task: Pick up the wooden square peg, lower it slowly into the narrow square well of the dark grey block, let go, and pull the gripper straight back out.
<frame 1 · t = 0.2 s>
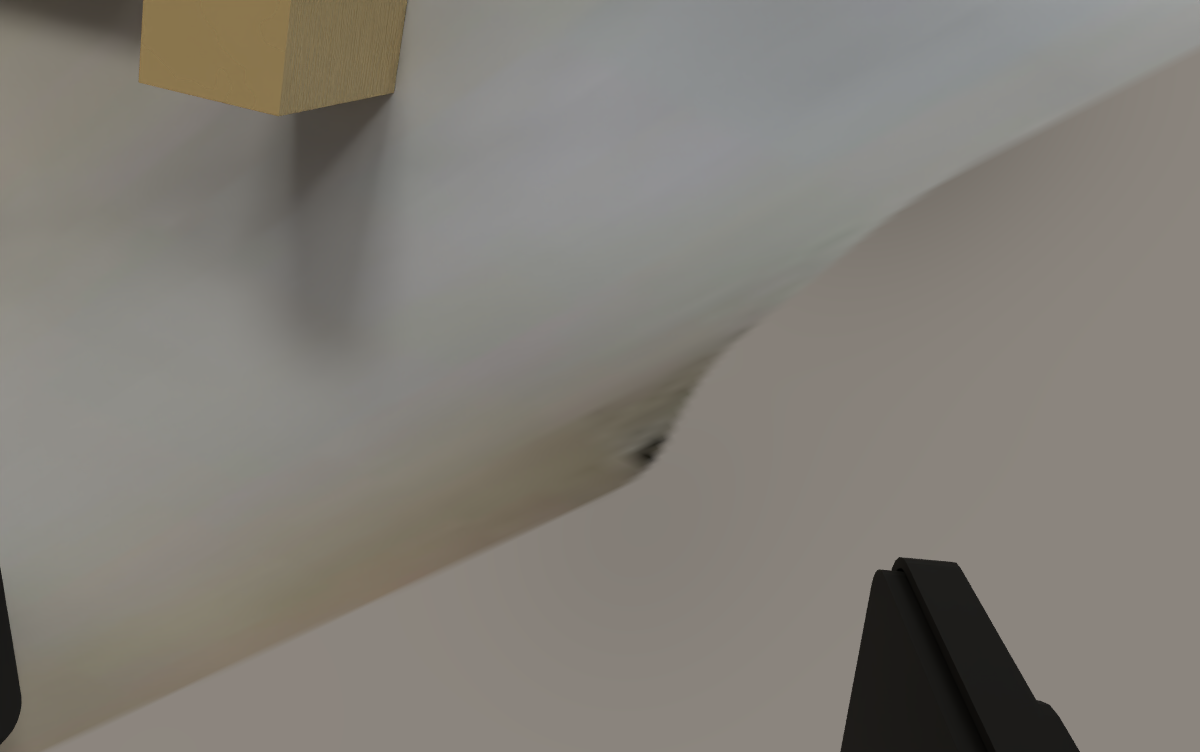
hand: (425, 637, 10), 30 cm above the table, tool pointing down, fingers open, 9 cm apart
wooden square peg: (351, 28, 37), on the table
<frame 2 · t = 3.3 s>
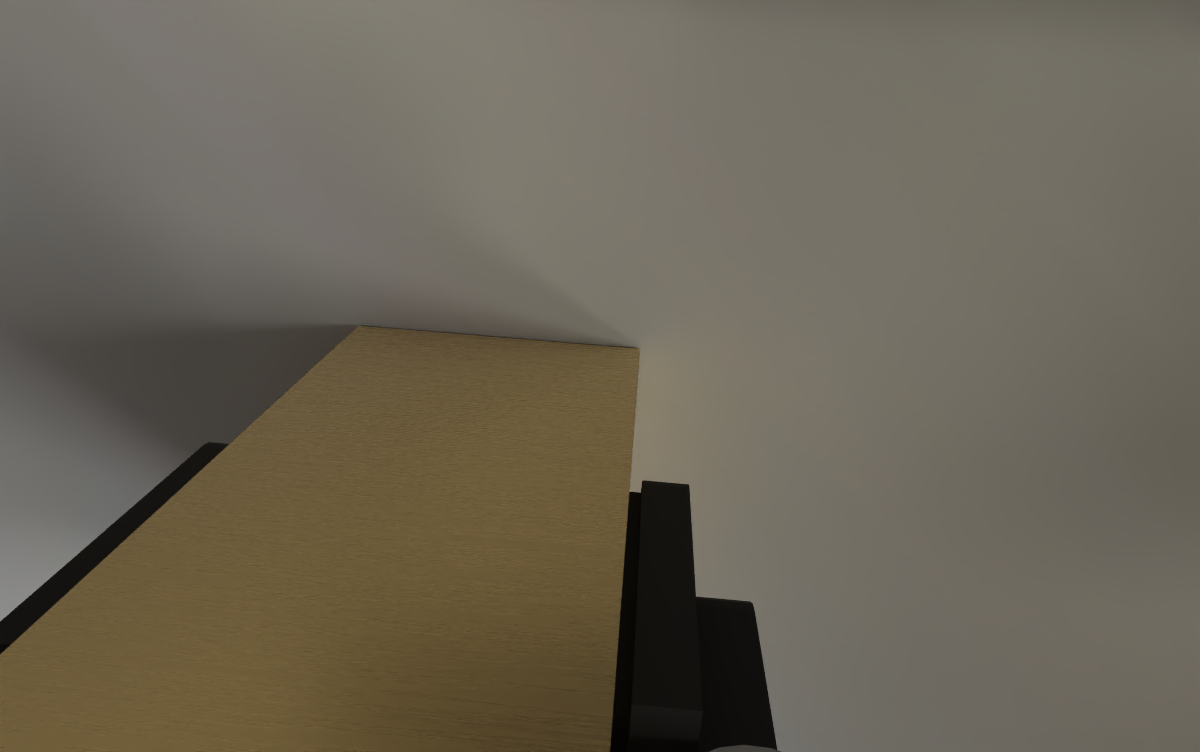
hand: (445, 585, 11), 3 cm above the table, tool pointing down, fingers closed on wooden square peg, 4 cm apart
wooden square peg: (494, 466, 14), on the table, touching gripper
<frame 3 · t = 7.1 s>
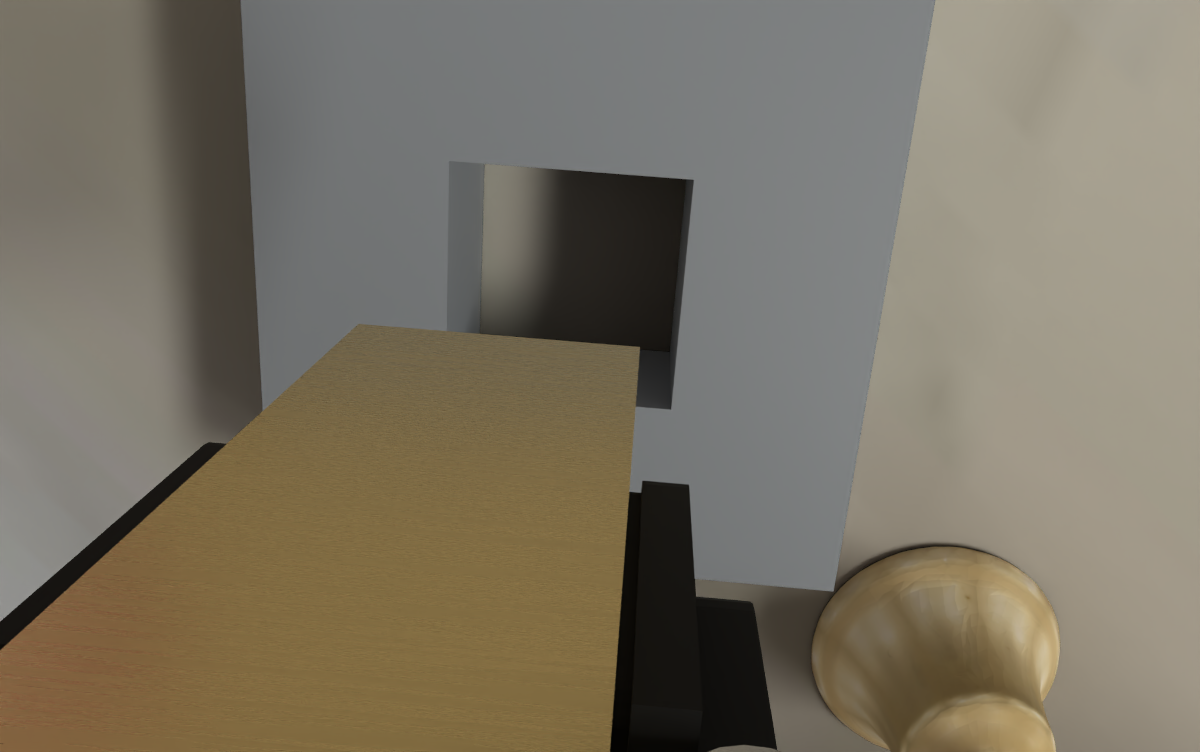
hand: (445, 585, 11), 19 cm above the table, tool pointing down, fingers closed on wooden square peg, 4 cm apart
hand bell: (931, 647, 33), on the table
wooden square peg: (494, 464, 14), point 16 cm above the table, touching gripper
well block: (580, 250, 29), on the table
when the fingers open (6 cm above the table, at t = 10.7 s): wooden square peg drops 3 cm, resting in well block.
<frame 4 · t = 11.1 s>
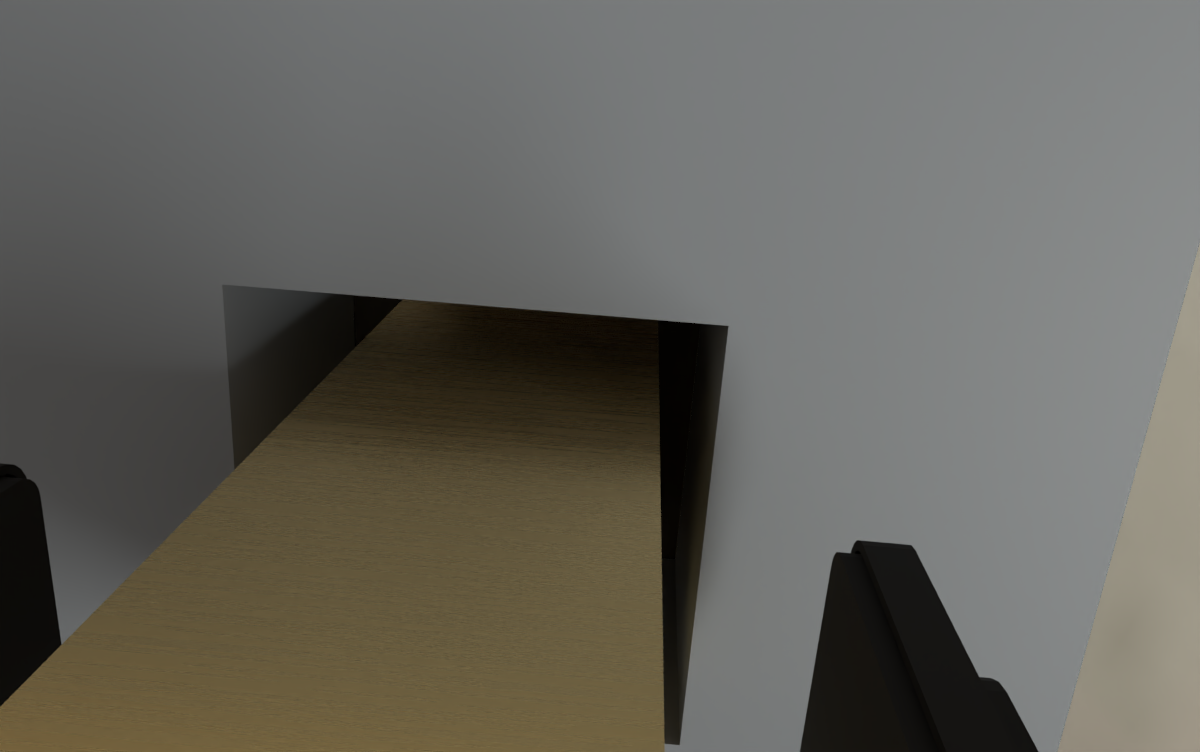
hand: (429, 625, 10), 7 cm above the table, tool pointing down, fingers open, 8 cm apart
wooden square peg: (535, 396, 17), resting in well block
well block: (522, 395, 17), on the table
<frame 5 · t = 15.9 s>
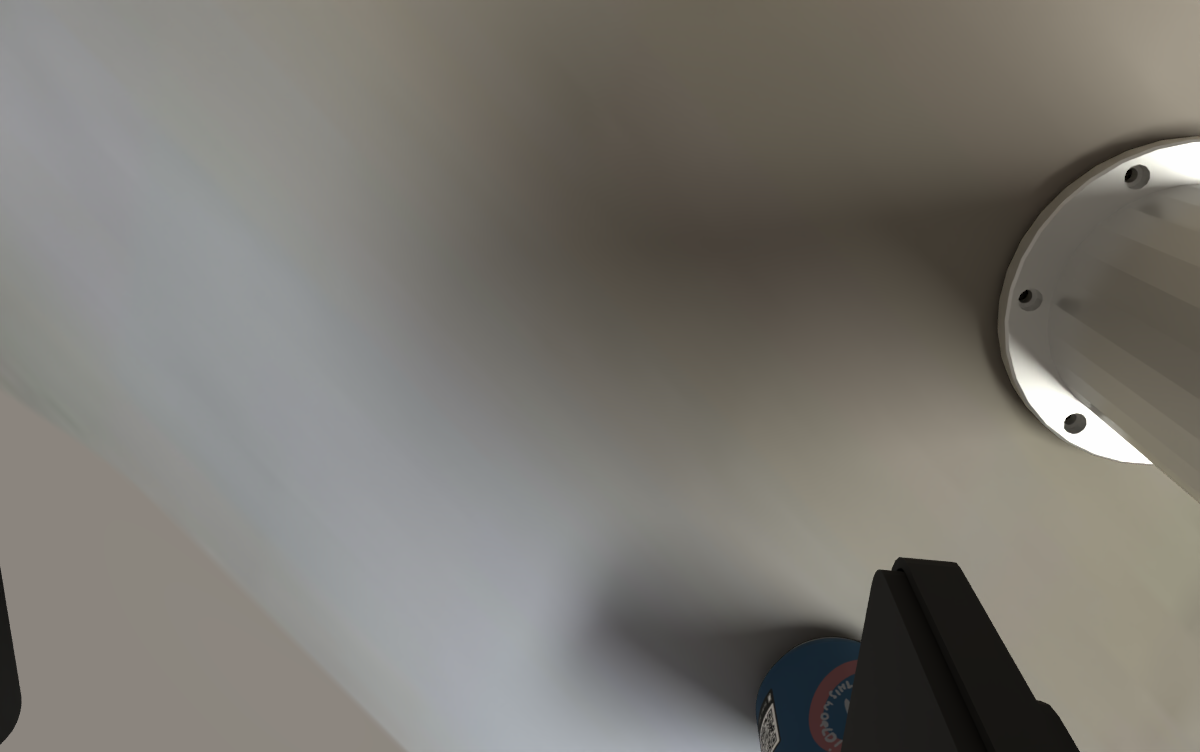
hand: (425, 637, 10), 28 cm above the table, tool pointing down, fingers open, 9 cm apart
soda can: (829, 686, 43), on the table
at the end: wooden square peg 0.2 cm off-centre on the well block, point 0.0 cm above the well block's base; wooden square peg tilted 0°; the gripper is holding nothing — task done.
